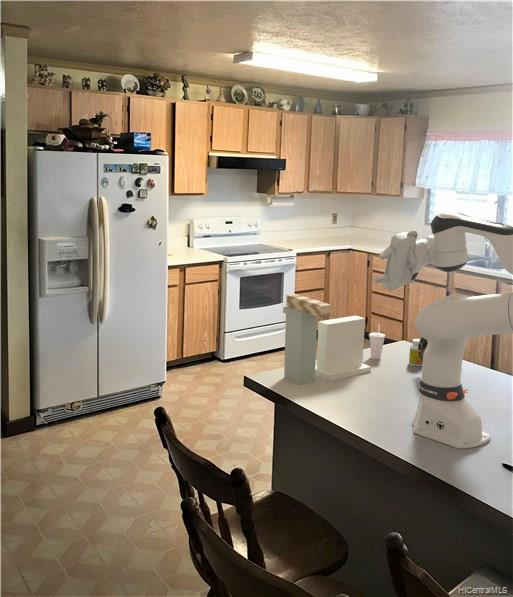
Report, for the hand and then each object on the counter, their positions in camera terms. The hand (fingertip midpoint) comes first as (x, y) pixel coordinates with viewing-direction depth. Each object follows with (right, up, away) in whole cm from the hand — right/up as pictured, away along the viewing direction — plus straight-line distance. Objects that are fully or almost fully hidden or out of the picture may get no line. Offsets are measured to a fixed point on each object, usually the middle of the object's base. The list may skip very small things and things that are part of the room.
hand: (377, 268), depth 198 cm
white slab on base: (-7, -37, +41) cm, 55 cm away
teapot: (+27, -40, +31) cm, 57 cm away
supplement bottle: (+25, -35, +51) cm, 67 cm away
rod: (-20, -14, +23) cm, 34 cm away
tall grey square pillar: (-22, -38, +32) cm, 55 cm away
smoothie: (+10, -33, +58) cm, 68 cm away
